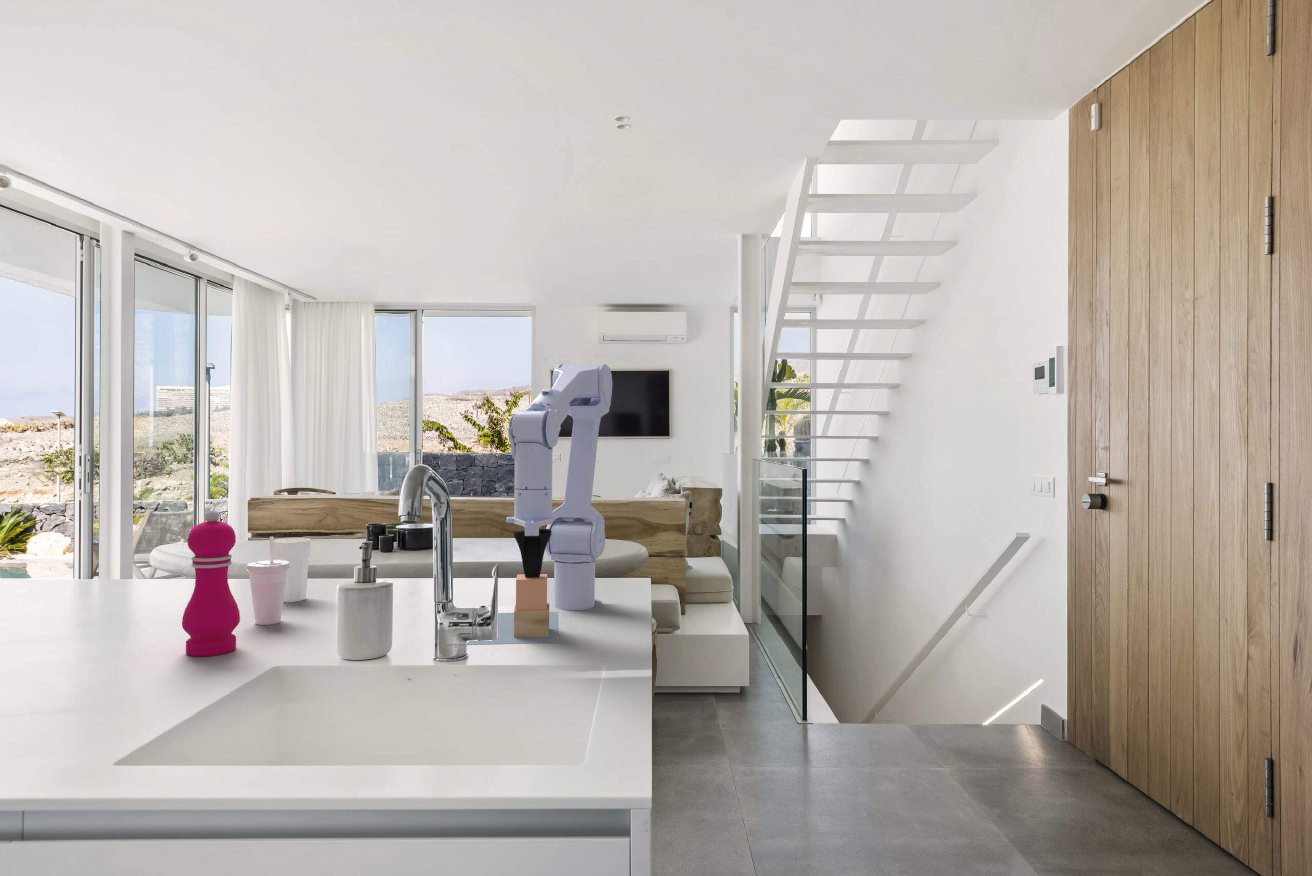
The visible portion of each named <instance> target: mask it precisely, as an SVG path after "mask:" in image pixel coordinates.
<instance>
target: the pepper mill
mask: <svg viewBox="0 0 1312 876" xmlns="http://www.w3.org/2000/svg"><path fill="white" fill-rule="evenodd" d="M219 518H220V514H219V512H218V511H216V510H213V509H212V510H210V509H209V510H208V511H207V512H206V513H205V514H204V519H205V521H203V522H200V523H198V524H196V525H195V526H194V527H193V528H192V529H190V531H189V534H188V537H187V547H188V549H189V550H190V551H191V552H192V553H193V556H192V557H191V561H192V563H191V564H190V565H191V568H194V571H195V572H194V574H195V581H194V589H193V591H192V593H191V597H190V599H189V601H188V602H187V604H186V606H185V608H184V612H183V615H182V619H181V626H182V629H183V631H184V632H186V634H188V635H189V638H188V639H186V641H185V654H186V655H188V656H191V657H202V658H203V657H212V656H213V657H214V656H220V655H224V654H228V653H230V652H233V651H234V650H235V649H236V648H237V636H236V634H234V633H233V631H234V630H235V629H236V628H237V627H238V625H239V624H240V621H241V614H240V609H239V605H238V603H237V600H235V597H234V595H233V593H232V591H231V589H230V584H229V580H228V579H229V578H228V576H229V574H228V571H229V566H231V565H232V563H233V562H232V560H231V559H232V557H233V556H232V554H231V553H230V552H231V551H232V549H233V548H234V546H235V545H236V542H237V541H236V540H237V538H236V537H237V535H236V533H235V532H236V531H235V530H234V528H233V527H232V526H231V525H230V524H229V523H226V522H223V521H219Z"/></svg>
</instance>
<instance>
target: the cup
mask: <svg viewBox="0 0 1312 876" xmlns="http://www.w3.org/2000/svg"><path fill="white" fill-rule="evenodd" d="M310 553H311V538H308V537H307V538H306V537H284V538H276V539H274V544H273V560H284V561H288V562H290V568H289V569H288V571H287V578H286V585H285V592H284V600H283V603H295V602H296V603H297V602H301V601H304V600H306V599H307V588H308V570H309V561H310V560H309V558H310V555H311V554H310Z"/></svg>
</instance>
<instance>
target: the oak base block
mask: <svg viewBox="0 0 1312 876" xmlns="http://www.w3.org/2000/svg"><path fill="white" fill-rule="evenodd" d="M549 612H550V602H547V610H516V603H515V604H514V610H513V613H514V638H519V637H549Z"/></svg>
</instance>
